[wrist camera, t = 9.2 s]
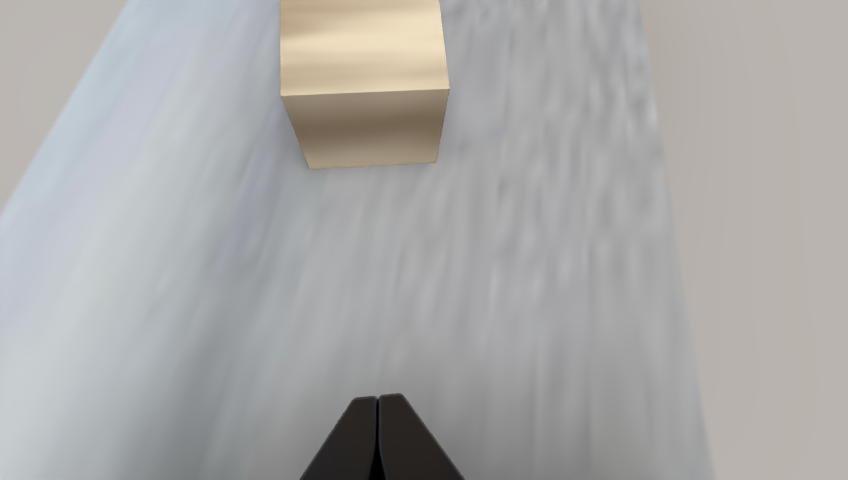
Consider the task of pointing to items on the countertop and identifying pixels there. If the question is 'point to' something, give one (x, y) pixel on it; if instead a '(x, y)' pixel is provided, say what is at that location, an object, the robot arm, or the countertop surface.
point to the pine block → (364, 80)
